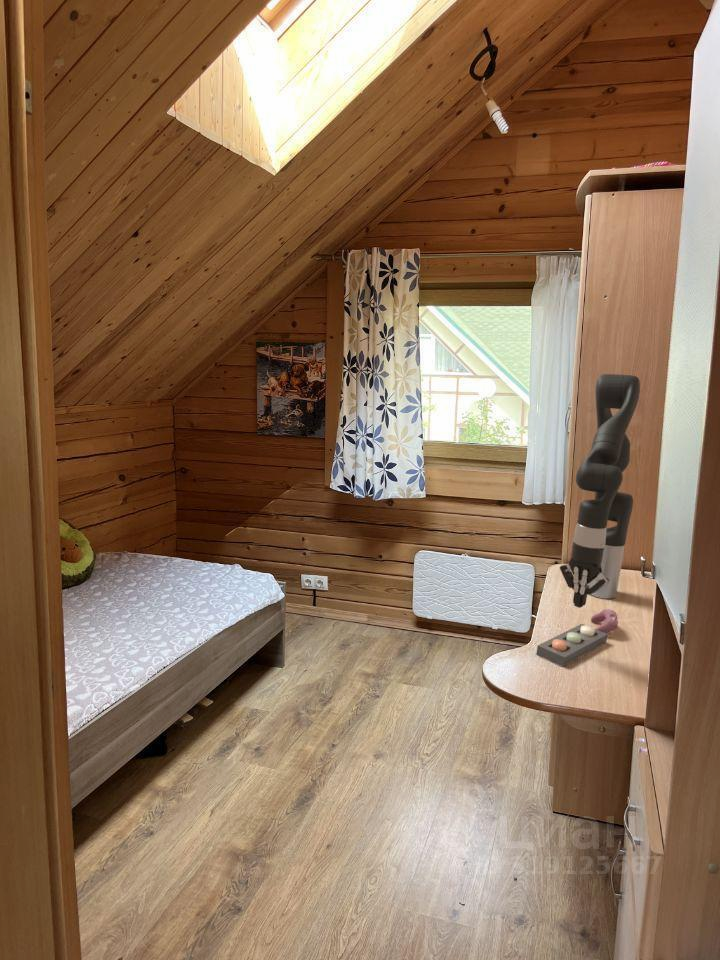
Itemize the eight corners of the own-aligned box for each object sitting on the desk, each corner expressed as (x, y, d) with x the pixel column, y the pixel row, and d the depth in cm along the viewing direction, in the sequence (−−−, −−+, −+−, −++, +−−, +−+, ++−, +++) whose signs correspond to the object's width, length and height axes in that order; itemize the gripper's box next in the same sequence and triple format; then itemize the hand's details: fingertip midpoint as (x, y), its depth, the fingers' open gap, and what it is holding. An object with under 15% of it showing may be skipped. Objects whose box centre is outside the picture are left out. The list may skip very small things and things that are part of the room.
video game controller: (607, 643, 186) (623, 623, 184) (593, 633, 186) (609, 614, 184) (602, 628, 196) (617, 609, 194) (588, 619, 196) (603, 600, 194)
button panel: (580, 632, 188) (581, 623, 187) (606, 642, 183) (607, 634, 182) (536, 654, 173) (537, 645, 172) (563, 666, 168) (564, 657, 167)
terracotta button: (556, 646, 175) (557, 638, 175) (568, 652, 173) (570, 643, 172) (548, 650, 173) (549, 641, 172) (561, 656, 170) (562, 647, 170)
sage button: (570, 639, 180) (571, 631, 179) (582, 644, 178) (584, 636, 177) (563, 643, 178) (564, 634, 177) (575, 648, 175) (577, 639, 175)
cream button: (583, 632, 185) (585, 624, 184) (596, 637, 182) (597, 629, 182) (576, 636, 182) (578, 627, 182) (589, 641, 180) (590, 632, 179)
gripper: (557, 537, 173) (548, 600, 177) (606, 552, 164) (595, 619, 168) (572, 532, 178) (563, 594, 182) (621, 546, 169) (610, 612, 173)
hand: (578, 606), depth 175 cm, fingers closed
